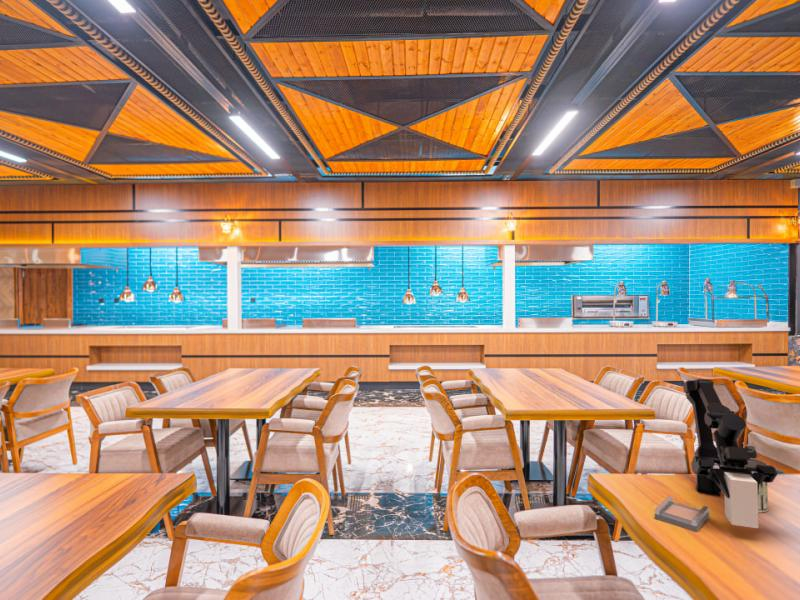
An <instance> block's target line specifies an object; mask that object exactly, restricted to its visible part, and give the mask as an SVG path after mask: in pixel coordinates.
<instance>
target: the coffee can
mask: <svg viewBox="0 0 800 600" xmlns="http://www.w3.org/2000/svg"><path fill="white" fill-rule="evenodd" d="M747 461H748V464H747V465H745V467H747V468H755V467H756V465H757V464H764V465H768V464H767V463H765V462H763V461H762V460H758V459H756V458H750V460H747ZM768 490H769V489H768V483H767V482H763V483H762V484H760V485H759V491H758V514H759V513H763V514H764V513H766V512H768V511H769V499H768V497H769V494H768Z"/></svg>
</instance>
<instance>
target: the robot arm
mask: <svg viewBox="0 0 800 600" xmlns="http://www.w3.org/2000/svg"><path fill="white" fill-rule="evenodd" d="M682 385H683V387H682V388H683V392H684V393H685V397H686V399H687V401H689V403H690V404H691V405H692V409H693V415H694V423H695V429H696V437H697V443H698V444H697V445H698V446H697V447H696V449H695V451H694V456H693V458H692V461H691V463H690V465H691V466H690V467H691V471H692V472H693V473H694V475H696V477H695V478H696V484H695V487H696V492H697V493H699V494H706V495H709V496H710V495H711V496H717V497H720V496H721V493H722V494H725V496H726V497H727V498H730V495H729V491H728V488H727V485H726V482H725V479H724V472H728V473H738V474H747V475H750V476H751V477H752V478H753V479H754V480H755V481H756V482H757V488H758V491H759V485H760V484H762V483H763V482H767V484H768V483H769V484H770V483H773V482H774V480H775V479H776V477H777V476H778V471H777V468H776V467H775V466H773V465H772V464H767V465H764V464H757V465H756V467H755V468H747V467H745V465H747V464H748V461H747V460H750V458H751V459H756V458H757V457H758V454H757V450H756V447H755V446H752V445H746V446H745V447H741V446H740V444H739V441H738V440H739V439H740V438H741V436H742V435H743V432H744V430H745V428H746V426H747V424H746V421H745V419H743V418H742V417H741V416H740V415H738V414H736V413H735V411H734V410H731V409H730V408H729V407H727V406H726V405H724V404H723V403H722V401H721V399H720V396H719V395H718V394H717V391H716V390H715V386H714V385H715V384H714V381H713V380H712V379H710V378H709V379H708V378H707V379H705V378H703V379H702V378H697V379H694V380H692V379H691V380H689V379H688V380H687V381H685V382H684V383H683V384H682ZM712 429H716V430H714V432H712Z"/></svg>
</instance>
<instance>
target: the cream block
mask: <svg viewBox="0 0 800 600" xmlns="http://www.w3.org/2000/svg"><path fill="white" fill-rule="evenodd" d="M724 479H725V482H726V485H727V488H728V491H729V495H730V498H727V497H726V496H725V494H724V493H723V494H724V495H723V496H724V516H725V517H726V519H727V520H728V521H729V522H730V524H731V525H732V526H737V527H738V526H740V527H746V528H752V529H753V528H754V529H759V512H758V488H757V482H756V481H755V480H754V479H753V478H752V477H751V476H750V475H747V474H738V473H728V472H724Z"/></svg>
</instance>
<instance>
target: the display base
mask: <svg viewBox="0 0 800 600" xmlns="http://www.w3.org/2000/svg"><path fill="white" fill-rule="evenodd" d="M709 518H710V512H709V506H706V505H703V506H702V508H700V509H699V508H696V507H691V506H688V505H685V504H680V503H678V502H674V497H672V496H667V497H666V498H665V499H664V500H663V501H662V502H661V503H659V504H658V505H657V506H656V507H655V508H654V519H655V520H659V521H660V522H664V523H668V524H671V525H673V526H678V527H680V528H684V529H686V530H690V531H693V532H695V533H697V532H698V531H699V530H700V529H701V527H703V525H704V524H705V523H706V522H707V520H708V519H709ZM705 521H706V522H705ZM704 522H705V523H704Z"/></svg>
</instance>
